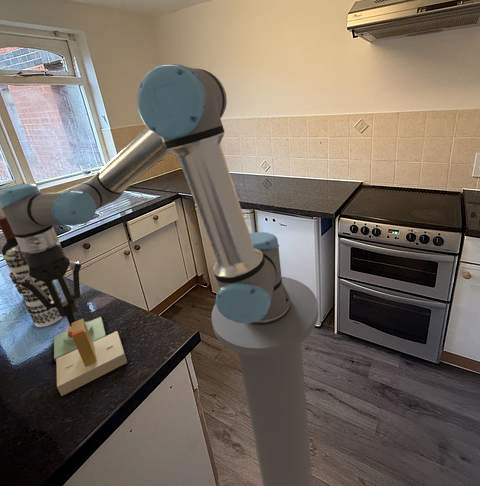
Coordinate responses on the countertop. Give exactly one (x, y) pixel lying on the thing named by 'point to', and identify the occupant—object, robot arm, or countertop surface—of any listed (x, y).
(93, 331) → the green push button box
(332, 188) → the countertop surface
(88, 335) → the thumbturn
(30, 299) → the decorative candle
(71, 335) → the bell button
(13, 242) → the wine bottle
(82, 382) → the plate
